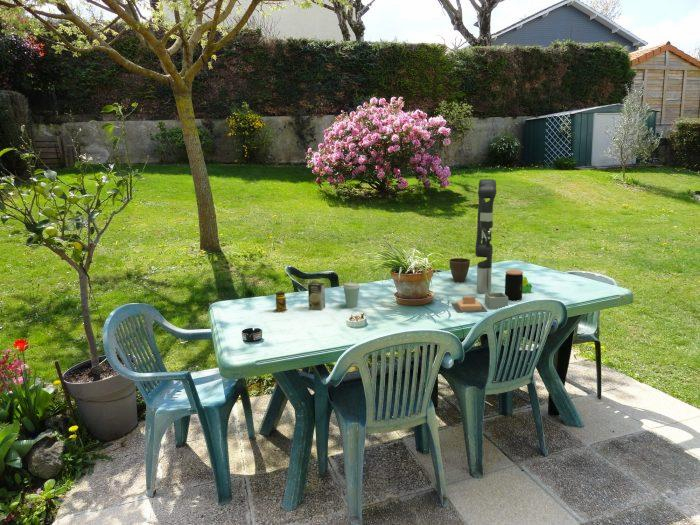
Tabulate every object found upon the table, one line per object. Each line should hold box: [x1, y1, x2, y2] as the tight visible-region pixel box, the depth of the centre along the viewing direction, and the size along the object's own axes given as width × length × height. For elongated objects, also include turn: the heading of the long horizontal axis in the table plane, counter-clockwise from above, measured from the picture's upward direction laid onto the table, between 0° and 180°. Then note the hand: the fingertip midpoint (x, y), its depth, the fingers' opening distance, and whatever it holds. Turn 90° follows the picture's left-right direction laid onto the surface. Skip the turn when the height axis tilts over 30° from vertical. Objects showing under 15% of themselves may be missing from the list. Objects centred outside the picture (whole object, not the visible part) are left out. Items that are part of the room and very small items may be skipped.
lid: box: [455, 295, 482, 311], centre depth 305 cm, size 13×13×6 cm
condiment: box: [271, 290, 289, 313], centre depth 311 cm, size 7×8×12 cm
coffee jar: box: [504, 269, 524, 302], centre depth 318 cm, size 11×11×18 cm
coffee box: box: [307, 281, 326, 311], centre depth 313 cm, size 9×6×16 cm
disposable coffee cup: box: [342, 282, 361, 309], centre depth 315 cm, size 11×11×15 cm
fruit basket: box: [522, 276, 533, 294], centre depth 333 cm, size 11×9×11 cm
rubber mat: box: [450, 301, 488, 314], centre depth 305 cm, size 18×18×1 cm
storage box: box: [484, 292, 509, 310], centre depth 306 cm, size 11×11×7 cm
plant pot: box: [448, 257, 471, 283], centre depth 365 cm, size 15×15×16 cm
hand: (485, 246), depth 306 cm, fingers open, 8 cm apart
